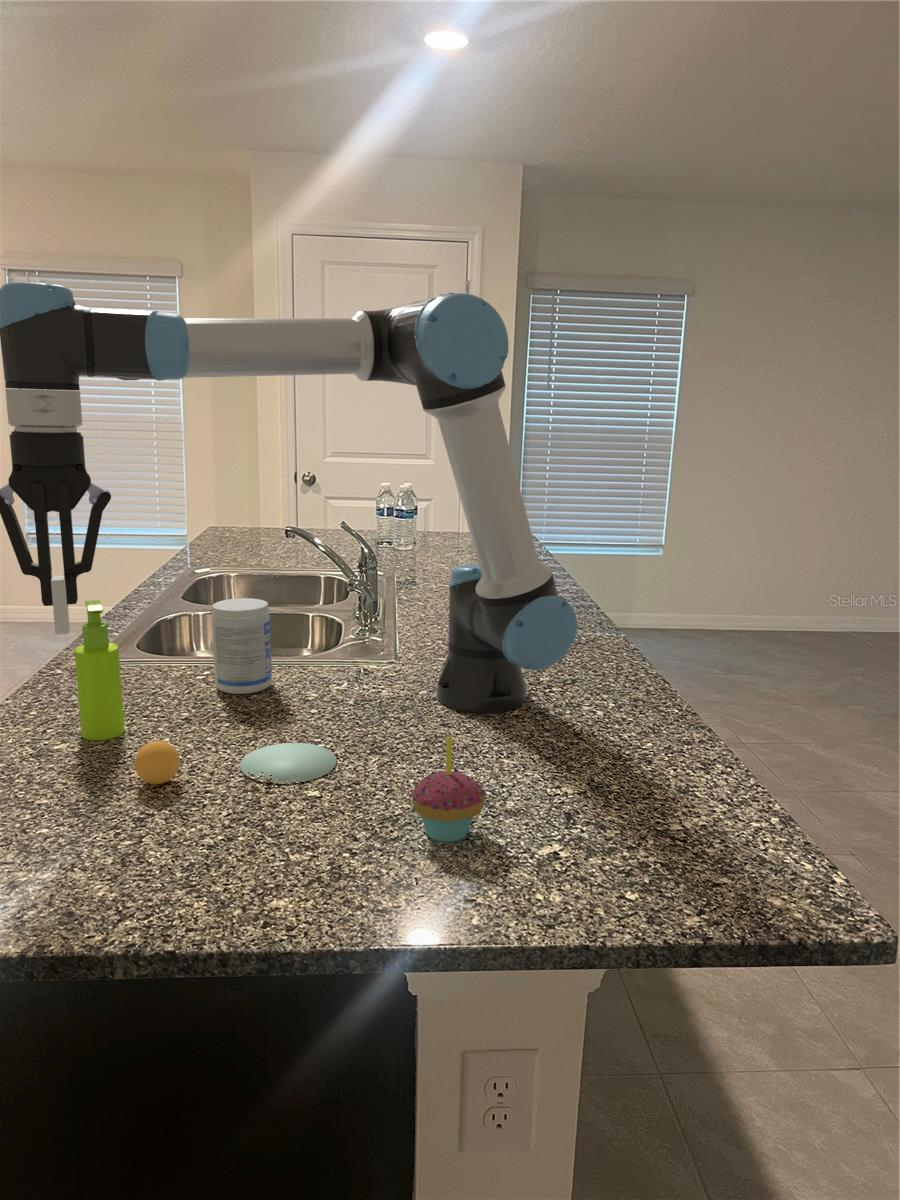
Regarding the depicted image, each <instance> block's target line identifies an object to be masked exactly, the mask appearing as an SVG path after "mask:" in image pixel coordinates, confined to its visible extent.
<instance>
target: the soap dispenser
mask: <svg viewBox="0 0 900 1200" xmlns="http://www.w3.org/2000/svg"><path fill="white" fill-rule="evenodd" d="M84 604H85V608H86V611H87V612H86V613H87V621H85V623H83V624H82V625H81V629H82V630H81V631H82V642H83V643H82V645H79V646H77V647H76V648H74V651H73V652H74V661H75V671H76V672H75V673H76V684H77V697H78V698H77V699H78V707H79V708H78V709H79V719H80V720H79V721H80V731H81V733H80V734H81V737H82V738H83V739H85V740H90V741H107V740H109V739H110V740H111V739H114V738H117V737H120V736H121V735H122V734H124V732H125V719H124V704H123V703H124V702H123V691H122V690H123V689H122V677H121V676H122V675H121V664H120V663H121V662H120V648H119V645H118V644H117V643H113V642H110V639H109V638H110V637H109V626H108V625H109V624H108V623H107V622H106V621H103V620H102V619H101V614H103V613H104V609H103V605H102V602H101V600H99V599H97V600H95V599H94V600H84Z"/></svg>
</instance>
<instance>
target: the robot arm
mask: <svg viewBox="0 0 900 1200" xmlns="http://www.w3.org/2000/svg"><path fill="white" fill-rule="evenodd" d="M508 334H509V333H508V330H507V327H506V324H505V323H504V320H503V318H502V317H501V315H500V313H499V312H498V310H496V308H494V306H492V305H491V304H490V303H489V302H488V301H486V300H484V299H483V298H481V297H480V296H477V295H474V294H471V293H461V292H460V293H458V292H457V293H454V292H449V293H445V294H444V293H443V294H439V295H437V296H435V297H431V298H427V299H423V300H418V301H413V302H411V303H408V304H403V305H400V306H397V307H393V308H391V307H390V308H386V309H379V310H359V311H357V312H356V313H355V314H354V315H353V316H352V317H351V318H347V317H346V318H340V317H339V318H333V317H332V318H331V317H330V318H328V317H327V318H184V317H183V316H181V314H176V313H168V312H161V311H159V310H152V311H151V310H150V311H149V310H147V311H146V310H130V309H114V308H113V309H111V308H95V307H94V308H93V307H86V306H85V307H84V306H82V305H76V301H75V299H74V294H73V291H72V290H71V289H70V288H69V287H67V286H64V285H59V284H51V283H49V284H48V283H47V284H46V283H44V282H32V281H31V282H30V281H29V282H28V281H13V282H12V281H11V282H7V283H5V284H3V285H2V286H1V287H0V348H1V349H0V350H1V358H2V359H1V360H2V366H3V375H4V385H5V386H4V387H5V390H4V391H5V400H6V401H5V402H6V413H7V422H8V425H9V426H11V427H14V429H13V430H12V431H11V433H9V434H8V437H9V447H10V455H11V456H10V457H11V467H12V468H11V473H10V475H9V477H8V483H7V484H5V485H4V486H2V487H1V488H0V517H1V520H2V522H3V525H4V527H5V530H6V533H7V535H8V537H9V541H10V544H11V546H12V549H13V552H14V555H15V557H16V560H17V564H18V565H19V567H20V570H21V573H22V574H23V575H25V576H32V577H35V578H37V579H38V580H39V581H40V582H39V583H40V593H41V603H42V605H43V606H44V607H48V606H50V607H51V606H52V609H53V611H52V612H53V621H54V632H55V635H69V634H70V615H69V605H77V602H78V599H79V598H78V596H79V595H78V584H77V578H78V577H79V576H80V575H82V574H85V573H89V572H91V571H92V568H93V563H94V559H95V555H96V553H95V552H96V547H97V543H98V538H99V531H100V527H101V524H102V523H101V522H102V516H103V511H104V510H105V509H106V507H107V505H108V504H109V503H110V501H111V499H112V494H111V492H110V491H109V490H108V489H105V488H104V489H103V488H101V487H100V486H98V485H96V484H94V483H93V482H92V479H91V476H90V475H89V473H88V471H87V469H86V460H85V459H86V457H85V446H84V445H85V444H84V443H85V442H84V435H83V434H82V432H80V431H78V428H80V427H81V426H83V415H82V414H83V413H82V400H81V399H82V398H81V390H80V377H87V378H93V377H99V378H101V377H102V378H114V379H115V378H116V379H118V380H121V381H139V380H155V381H165V380H182V379H184V378H185V379H188V378H191V379H192V378H224V377H225V378H229V377H230V378H232V377H234V378H235V377H236V378H237V377H270V376H271V377H275V376H278V377H279V376H313V375H314V376H316V375H317V376H321V375H323V376H325V375H355V376H356V377H357V379H359V381H361V382H363V381H364V382H366V381H369V382H372V381H373V382H374V381H375V382H379V381H380V382H388V383H389V382H391V383H397V384H404V385H410V386H415V387H416V389H417V393H418V396H419V399H420V403H421V406H422V409H423V411H424V412H425V413H427V414H428V415H430V416H431V417H434V418H435V419H436V420H437V422H438V425H439V429H440V432H441V433H440V434H441V437H442V439H443V442H444V447H445V449H446V453H447V457H448V460H449V464H450V467H451V471H452V475H453V478H454V481H455V484H456V488H457V492H458V495H459V499H460V502H461V505H462V510H463V514H464V517H465V520H466V521H465V522H466V523H467V527H468V530H469V531H468V532H469V534H470V538H471V541H472V546H473V549H474V552H475V556H476V559H477V562H478V563H469V564H461V565H458V566H456V567H455V566H454V568H453V569H452V571H451V573H450V578H449V579H450V582H449V585H448V590H449V603H448V604H449V605H448V606H449V607H448V608H449V609H448V610H449V611H448V612H449V613H448V614H449V615H448V652H447V656H446V657H445V658H446V659H445V661H444V664H443V666H442V669H441V673H440V675H439V678H438V681H437V684H436V685H437V687H436V690H437V691H436V697H437V700H439V702H440V703H441V704H443V705H445V706H447V707H449V708H452V709H455V710H459V711H462V712H470V713H477V714H478V713H480V714H482V713H483V714H490V713H493V714H494V713H495V714H496V713H502V712H508V711H512V710H515V709H518V708H520V707H522V706H523V705H524V704H525V703H526V700H527V685H526V681H525V676H524V673H523V669H526V670H528V671H529V670H530V671H540V670H544V669H547V668H550V667H552V666H554V665H555V664H557V663H558V662H559V661H561V660H562V659H563V658H564V657H565V656H566V655H567V653H568V652H569V649H570V648H571V645H572V644H574V642H575V639H576V637H577V633H578V617H577V614H576V613H577V612H576V611H575V609H574V608H573V606H572V605H571V604H570V603H569V602H568V600H567V599H565V598H564V597H562V596H559V594H558V590H557V589H558V588H557V586H556V581H555V579H554V575H553V571H552V568H551V567H550V566H549V565H547V564H545V563H544V562H542V561H540V560H539V558H538V554H537V550H536V546H535V541H534V538H533V534H532V530H531V527H530V522H529V519H528V514H527V510H526V507H525V503H524V498H523V496H522V492H521V487H520V484H519V483H520V482H519V480H518V475H517V472H516V468H515V464H514V459H513V457H512V456H513V455H512V451H511V448H510V444H509V440H508V437H507V433H506V432H507V431H506V429H505V423H504V421H503V416H502V412H501V409H500V405H499V401H500V399H501V396H502V394H503V393H504V392H505V390H506V388H507V387H506V383H505V378H504V374H503V371H502V370H503V368H504V365H505V361H506V359H507V358H508V354H509V344H510V343H509V336H508ZM86 492H88V493H89V494H88V495H89V496H88V501H89V504H91V505H92V506H91V509H90V511H89V512H90V514H89V519H88V523H87V529H86V534H85V538H84V539H85V540H84V543H83V544H84V545H83V550H82V556H81V560H80V561H78V562H76V557H75V556H76V555H75V543H74V532H73V529H74V528H73V517H72V515H73V514H72V511H73V510H74V509H75V508H76V507H77V505H78V504H79V503H80V501H81V500H82V498H83V497H84V496H85V494H86ZM14 493H15V494H16V495H17V496H18V498H19V499H20V500H21V501H22V502H23V503H24V505H25V506H27V507H28V508H29V510H32V511H33V518H34V526H35V527H34V528H35V538H36V551H37V561H38V562H37V563H35V562H34V560H33V558H32V555H31V552H30V550H29V547H28V544H27V541H26V539H25V536H24V533H23V530H22V527H21V525H20V522H19V519H18V516H17V514H16V511H15V509H14V508H13V504H14V503H15V497H14ZM50 512H55V513H58V516H59V526H60V527H59V528H60V539H61V549H62V550H61V552H62V562H63V563H62V564H63V575H61V574H60V575H53V573H52V571H53V570H52V569H53V568H52V556H51V545H50V532H49V515H48V514H49V513H50Z"/></svg>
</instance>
